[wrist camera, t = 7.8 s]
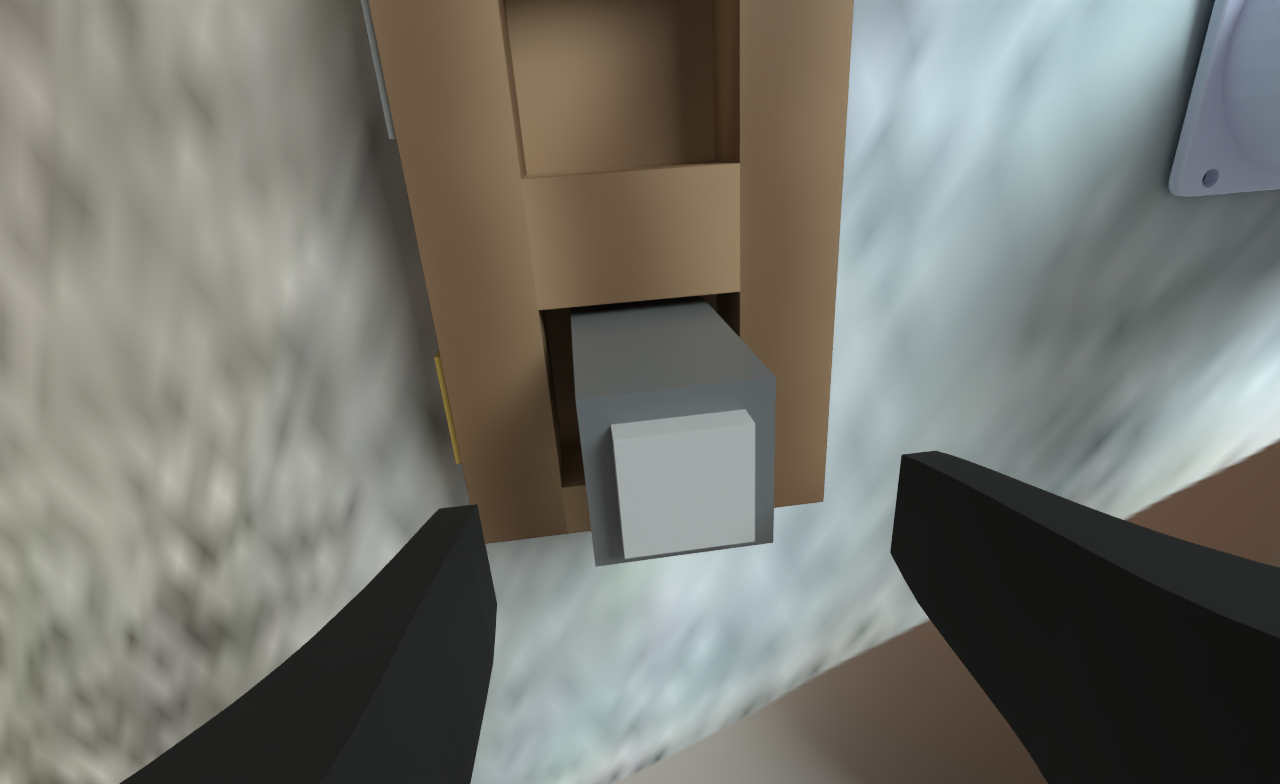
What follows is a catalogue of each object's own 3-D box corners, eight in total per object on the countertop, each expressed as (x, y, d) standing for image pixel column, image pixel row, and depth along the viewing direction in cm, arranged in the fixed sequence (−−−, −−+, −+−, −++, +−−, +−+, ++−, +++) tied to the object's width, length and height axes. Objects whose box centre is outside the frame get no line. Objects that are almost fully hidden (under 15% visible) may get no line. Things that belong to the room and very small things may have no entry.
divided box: (808, -139, 14) (866, -207, 12) (788, 453, 21) (823, 501, 18) (367, -126, 14) (317, -194, 11) (483, 489, 20) (471, 545, 17)
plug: (691, 285, 17) (787, 389, 10) (695, 396, 19) (783, 561, 11) (569, 296, 17) (576, 413, 10) (582, 409, 19) (597, 587, 11)
